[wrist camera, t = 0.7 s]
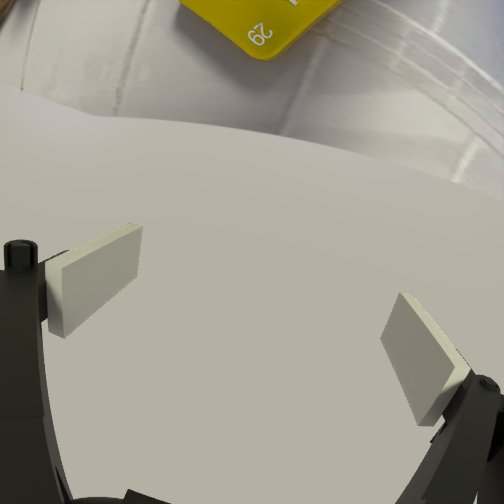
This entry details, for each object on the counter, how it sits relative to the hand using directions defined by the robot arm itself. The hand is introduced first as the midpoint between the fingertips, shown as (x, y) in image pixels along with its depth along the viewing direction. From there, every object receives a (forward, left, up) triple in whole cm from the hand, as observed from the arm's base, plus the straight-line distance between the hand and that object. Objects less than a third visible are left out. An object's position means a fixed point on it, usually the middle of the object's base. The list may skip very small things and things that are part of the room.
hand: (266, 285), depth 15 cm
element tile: (-9, -19, -27) cm, 34 cm away
